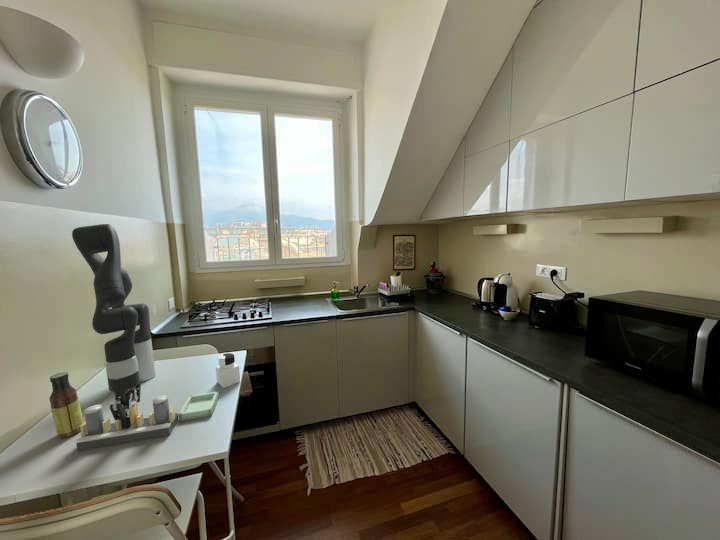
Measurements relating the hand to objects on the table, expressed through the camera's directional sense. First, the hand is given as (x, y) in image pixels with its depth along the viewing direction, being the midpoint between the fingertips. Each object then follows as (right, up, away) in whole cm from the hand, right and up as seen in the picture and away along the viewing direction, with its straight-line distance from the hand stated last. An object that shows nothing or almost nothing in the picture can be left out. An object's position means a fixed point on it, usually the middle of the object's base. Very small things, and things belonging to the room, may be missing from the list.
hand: (130, 423), depth 93 cm
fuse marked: (0, -1, 0) cm, 1 cm away
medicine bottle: (+17, +1, +32) cm, 36 cm away
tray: (+15, -2, +13) cm, 20 cm away
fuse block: (0, -4, 0) cm, 4 cm away
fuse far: (+9, -1, +2) cm, 9 cm away
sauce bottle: (-21, -4, +2) cm, 22 cm away
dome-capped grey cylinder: (-9, -2, -2) cm, 9 cm away
